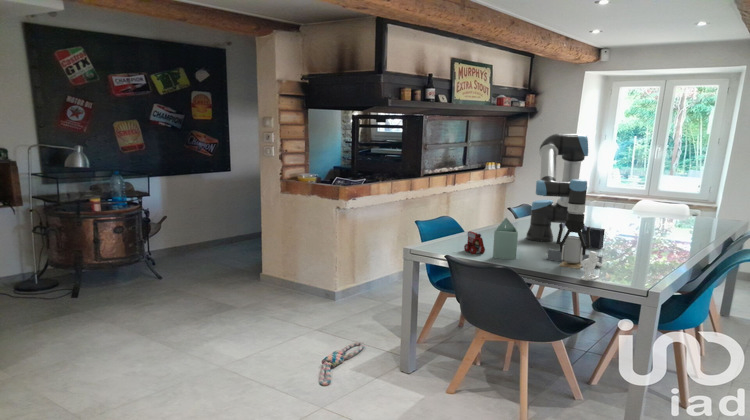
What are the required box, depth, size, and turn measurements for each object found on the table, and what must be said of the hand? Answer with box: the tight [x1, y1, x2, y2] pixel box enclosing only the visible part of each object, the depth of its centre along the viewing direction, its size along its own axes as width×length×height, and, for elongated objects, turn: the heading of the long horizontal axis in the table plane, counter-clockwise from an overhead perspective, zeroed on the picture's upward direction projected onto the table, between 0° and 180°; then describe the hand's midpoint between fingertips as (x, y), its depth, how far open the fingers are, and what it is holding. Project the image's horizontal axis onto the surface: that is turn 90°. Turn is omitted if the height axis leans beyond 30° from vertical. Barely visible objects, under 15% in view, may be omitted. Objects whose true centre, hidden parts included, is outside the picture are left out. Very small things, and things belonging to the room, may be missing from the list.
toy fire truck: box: [463, 230, 486, 255], centre depth 253 cm, size 7×12×10 cm, turn 24°
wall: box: [546, 247, 604, 268], centre depth 238 cm, size 24×4×5 cm, turn 59°
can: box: [563, 235, 583, 263], centre depth 231 cm, size 8×8×12 cm
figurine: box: [580, 250, 606, 281], centre depth 210 cm, size 9×7×12 cm
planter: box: [492, 217, 519, 260], centre depth 244 cm, size 16×8×20 cm, turn 126°
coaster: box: [559, 261, 583, 270], centre depth 232 cm, size 9×9×1 cm
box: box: [581, 226, 606, 250], centre depth 273 cm, size 11×7×10 cm, turn 47°
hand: (571, 260), depth 232 cm, fingers closed on can, 7 cm apart
